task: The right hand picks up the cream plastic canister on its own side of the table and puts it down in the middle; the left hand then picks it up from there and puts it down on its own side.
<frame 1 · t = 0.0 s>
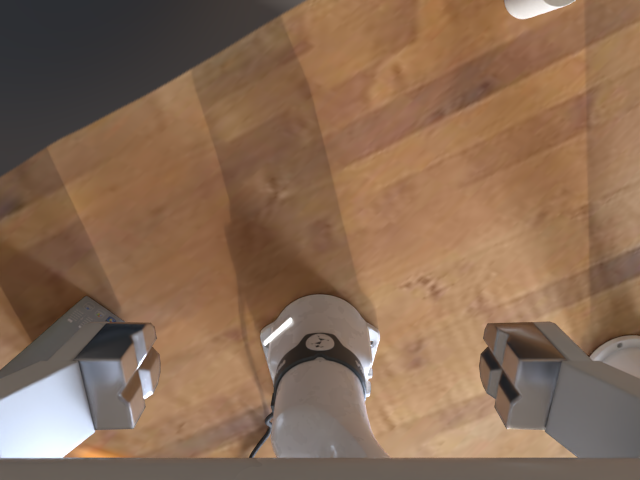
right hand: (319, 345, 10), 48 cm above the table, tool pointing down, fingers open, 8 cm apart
hard drive box: (82, 338, 66), on the table
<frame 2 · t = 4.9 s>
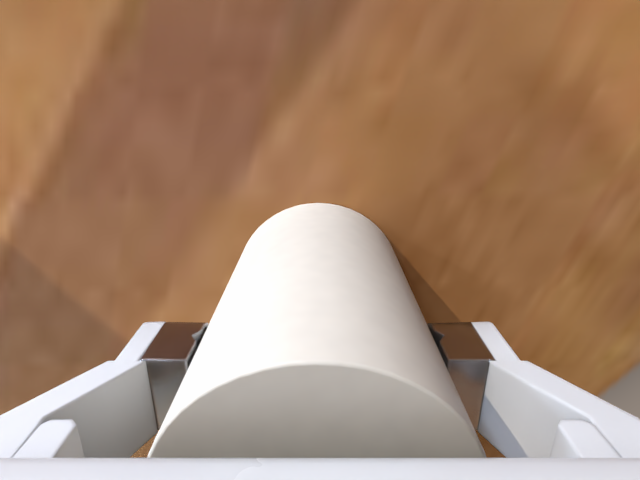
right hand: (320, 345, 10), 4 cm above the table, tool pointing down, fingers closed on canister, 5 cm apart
canister: (318, 279, 14), on the table, touching right hand
when the right hand's fingers open (5 cm above the table, at t = 11.4 s): canister drops 1 cm, on the table.
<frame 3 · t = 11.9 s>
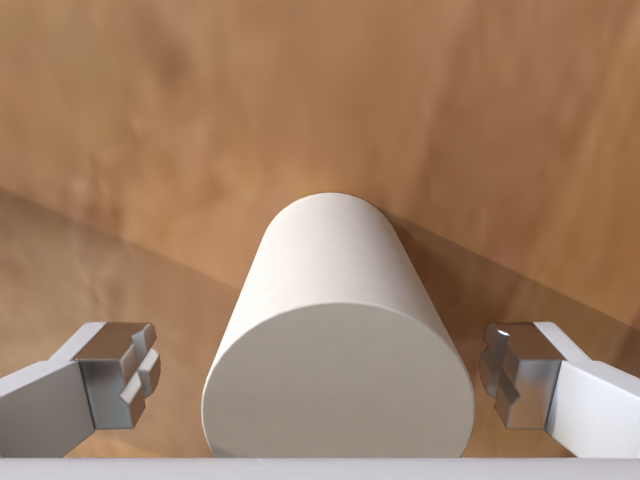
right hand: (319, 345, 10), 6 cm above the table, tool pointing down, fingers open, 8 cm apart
canister: (330, 261, 16), on the table
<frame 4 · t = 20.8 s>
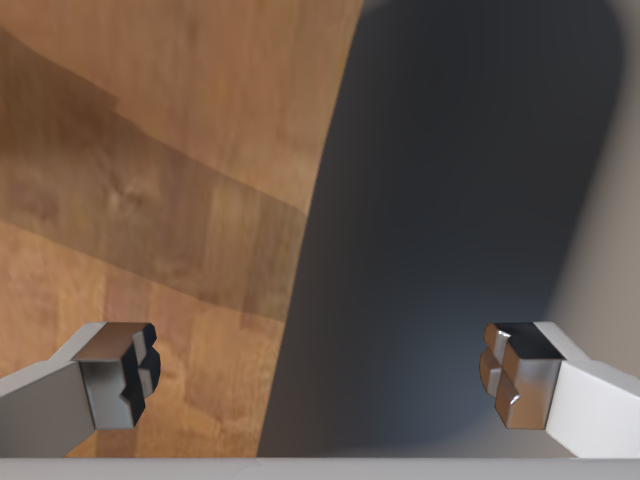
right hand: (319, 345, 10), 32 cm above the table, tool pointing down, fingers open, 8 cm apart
when the left hand's fingers open (4 cm above the table, at t = 26.2 s): canister stays where it is, on the table.
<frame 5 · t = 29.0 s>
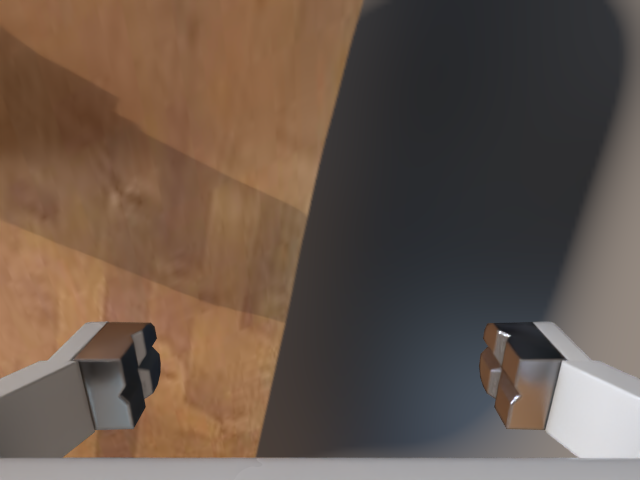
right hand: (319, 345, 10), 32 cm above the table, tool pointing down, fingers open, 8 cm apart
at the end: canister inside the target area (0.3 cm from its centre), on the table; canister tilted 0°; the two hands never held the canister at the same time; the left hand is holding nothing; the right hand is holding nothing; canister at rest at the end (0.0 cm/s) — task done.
